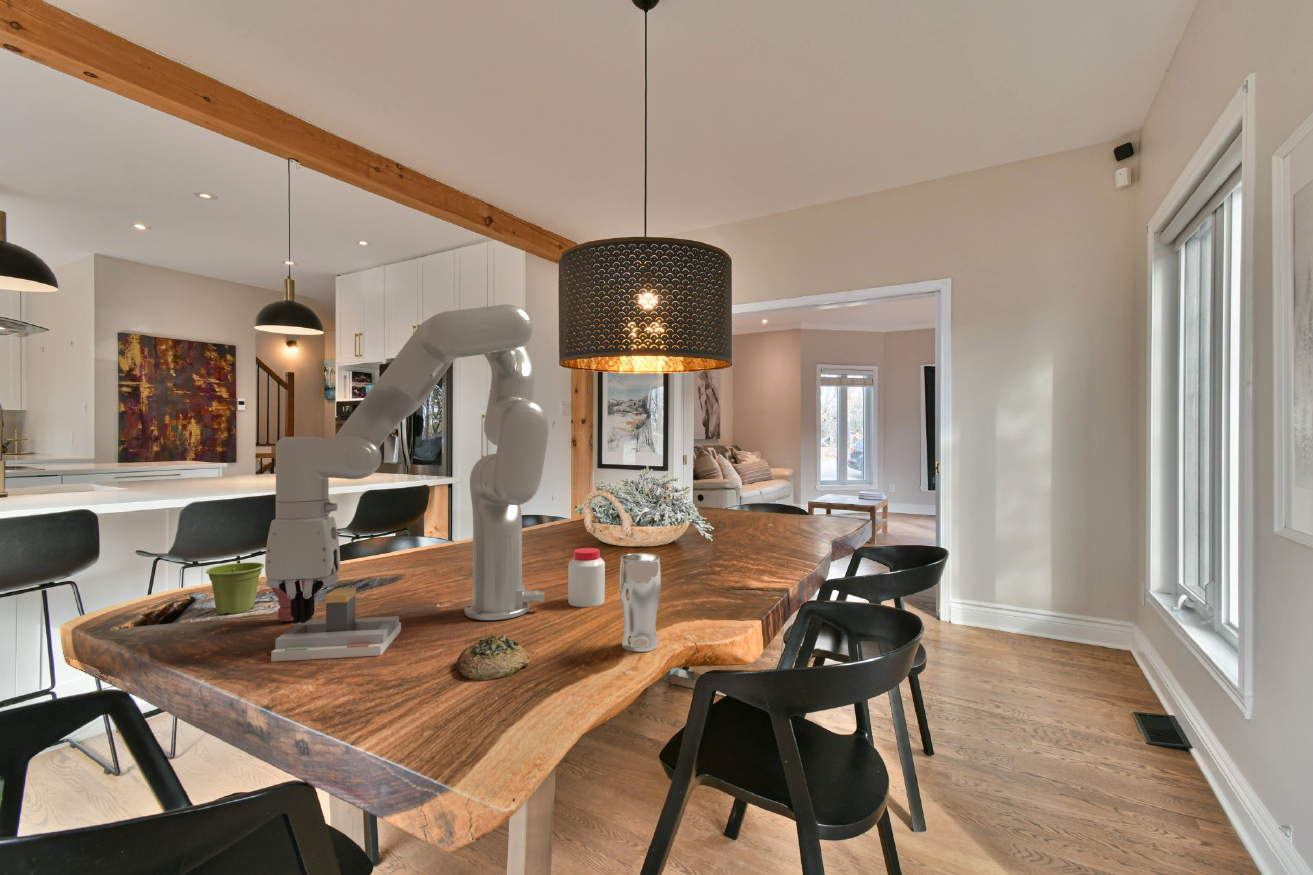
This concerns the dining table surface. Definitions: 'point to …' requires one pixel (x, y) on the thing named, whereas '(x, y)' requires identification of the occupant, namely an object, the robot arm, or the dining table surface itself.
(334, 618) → the breaker handle
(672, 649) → the dining table surface
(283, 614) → the light bulb
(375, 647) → the switch panel
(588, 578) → the pill bottle
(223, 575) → the plant pot
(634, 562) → the beer glass
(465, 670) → the bread roll
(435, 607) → the dining table surface
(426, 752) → the dining table surface
